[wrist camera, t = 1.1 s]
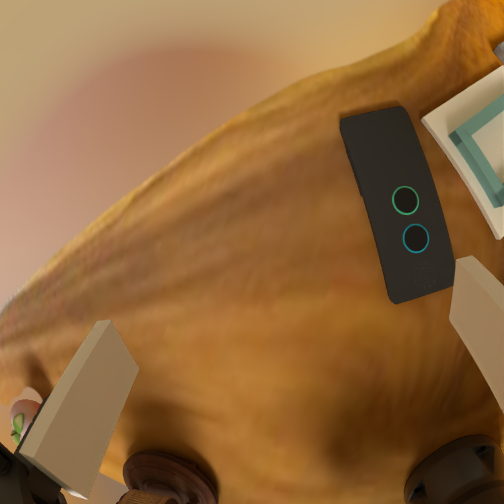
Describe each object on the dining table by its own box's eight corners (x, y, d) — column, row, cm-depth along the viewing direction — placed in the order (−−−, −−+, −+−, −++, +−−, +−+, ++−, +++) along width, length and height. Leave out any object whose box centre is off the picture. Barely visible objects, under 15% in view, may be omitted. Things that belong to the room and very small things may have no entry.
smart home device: (391, 306, 29) (336, 119, 30) (387, 303, 31) (335, 125, 32) (460, 283, 28) (405, 104, 29) (454, 282, 29) (402, 110, 30)
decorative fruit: (65, 445, 41) (30, 469, 31) (35, 419, 42) (0, 437, 32) (68, 411, 40) (27, 434, 30) (36, 383, 41) (-4, 400, 32)
